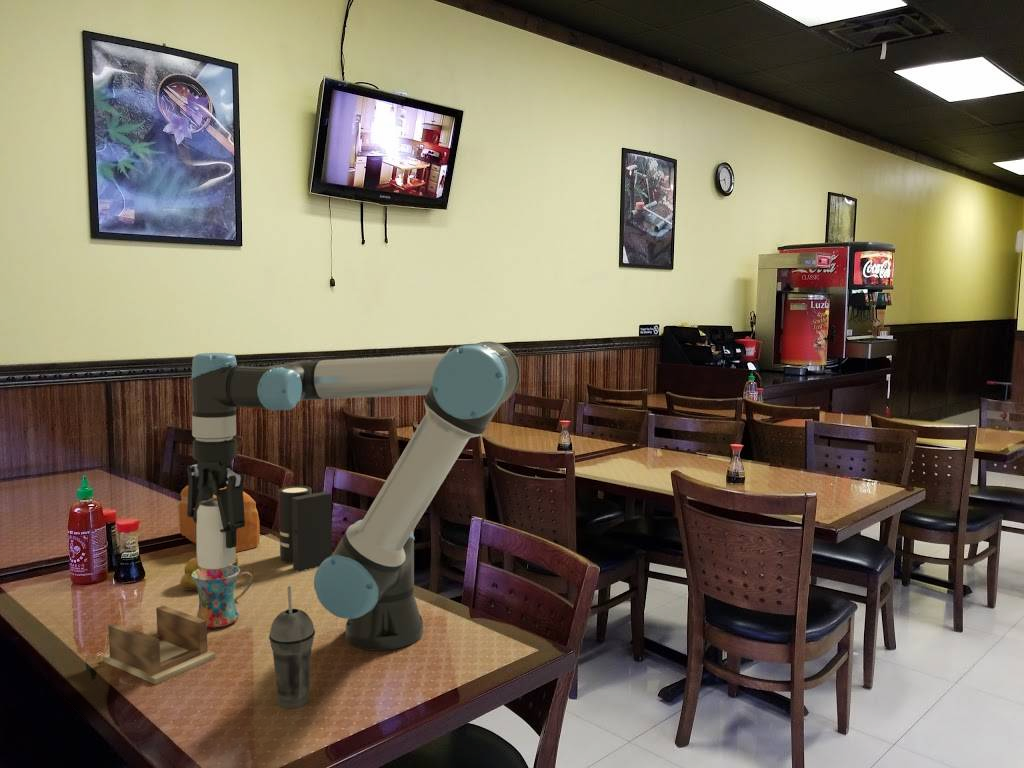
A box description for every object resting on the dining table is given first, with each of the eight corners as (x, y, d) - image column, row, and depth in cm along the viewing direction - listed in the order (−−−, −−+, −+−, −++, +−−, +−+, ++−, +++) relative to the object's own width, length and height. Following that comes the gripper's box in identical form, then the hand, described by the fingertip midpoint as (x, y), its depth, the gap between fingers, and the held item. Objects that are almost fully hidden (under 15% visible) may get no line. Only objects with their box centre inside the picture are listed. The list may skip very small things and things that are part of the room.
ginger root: (188, 597, 175) (187, 562, 174) (170, 586, 181) (169, 552, 181) (243, 582, 184) (242, 549, 183) (224, 572, 191) (223, 540, 190)
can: (223, 556, 151) (222, 495, 150) (241, 564, 147) (240, 502, 146) (190, 564, 147) (190, 501, 145) (208, 573, 142) (207, 508, 141)
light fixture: (306, 549, 208) (305, 483, 206) (333, 562, 198) (332, 493, 196) (271, 557, 201) (269, 489, 199) (297, 571, 191) (296, 499, 189)
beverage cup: (320, 690, 134) (318, 576, 132) (311, 712, 126) (308, 592, 124) (277, 690, 133) (274, 576, 131) (265, 713, 126) (261, 592, 124)
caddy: (215, 658, 145) (214, 621, 144) (155, 684, 135) (154, 645, 134) (162, 637, 154) (161, 603, 153) (102, 661, 144) (100, 624, 143)
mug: (200, 635, 155) (198, 583, 154) (187, 620, 162) (185, 570, 161) (261, 620, 162) (259, 570, 161) (245, 606, 170) (244, 558, 168)
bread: (224, 525, 229) (223, 472, 228) (263, 547, 210) (262, 489, 208) (176, 535, 220) (173, 479, 219) (212, 558, 201) (210, 497, 199)
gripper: (266, 441, 142) (266, 565, 145) (200, 428, 153) (201, 544, 155) (230, 447, 136) (231, 577, 138) (164, 433, 146) (166, 554, 149)
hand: (215, 559), depth 147 cm, fingers closed on can, 6 cm apart
